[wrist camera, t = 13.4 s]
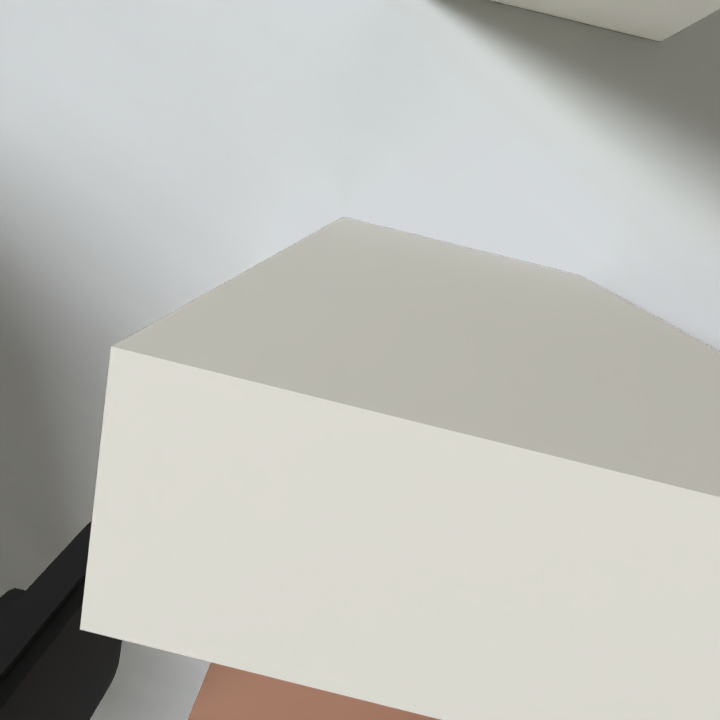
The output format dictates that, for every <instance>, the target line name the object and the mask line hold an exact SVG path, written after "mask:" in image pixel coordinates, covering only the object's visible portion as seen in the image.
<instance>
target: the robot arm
mask: <svg viewBox="0 0 720 720" xmlns="http://www.w3.org/2000/svg"><path fill="white" fill-rule="evenodd" d="M91 524H92V522H90V523H89V524H88V525H87V526H86V527H85V528H84V529H83V530H82V531H81V532H80V533H79V534H78V535H77V536H76V537H75V538H74V540H73V541H72V542H71V543H70V544H69V545H68V546H67V547H66V548H65V549H64V550H63V551H62V552H61V554H60V555H59V556H58V557H57V558H56V559H55V560H54V561H53V562H52V563H51V564H50V565H49V566H48V568H47V569H46V570H45V571H44V572H43V573H42V574H41V575H40V576H39V577H38V578H37V579H36V580H35V581H34V583H33V584H32V585H31V586H30V587H29V588H28V589H27V590H26V591H24V590H20V589H16V588H14V589H12V590H9V591H8V592H6V593H5V594H4V595H3V596H2V597H0V720H90V718H91V716H92V715H93V713H94V711H95V710H96V708H97V706H98V704H99V703H100V701H101V699H102V698H103V696H104V694H105V693H106V691H107V689H108V688H109V686H110V684H111V682H112V680H113V678H114V675H115V673H116V670H117V667H118V663H119V657H120V650H121V643H122V640H120V639H116V638H112V637H108V636H104V635H100V634H96V633H92V632H88V631H84V630H80V624H81V614H82V605H83V596H84V587H85V578H86V569H87V560H88V551H89V542H90V533H91Z"/></svg>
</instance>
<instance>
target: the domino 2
mask: <svg viewBox="0 0 720 720" xmlns="http://www.w3.org/2000/svg"><path fill="white" fill-rule="evenodd" d="M188 720H440V719H436V718H432V717H428V716H424V715H420V714H416V713H412V712H408V711H404V710H400V709H396V708H392V707H388V706H384V705H380V704H376V703H372V702H368V701H364V700H360V699H356V698H352V697H348V696H344V695H340V694H336V693H332V692H328V691H324V690H320V689H316V688H312V687H308V686H304V685H300V684H296V683H292V682H288V681H284V680H280V679H276V678H272V677H268V676H264V675H260V674H256V673H252V672H248V671H244V670H240V669H236V668H232V667H228V666H224V665H220V664H216V663H212V662H211V664H210V667H209V669H208V672H207V674H206V676H205V679H204V681H203V684H202V686H201V689H200V691H199V694H198V696H197V699H196V701H195V704H194V706H193V708H192V711H191V713H190V716H189V718H188Z"/></svg>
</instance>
